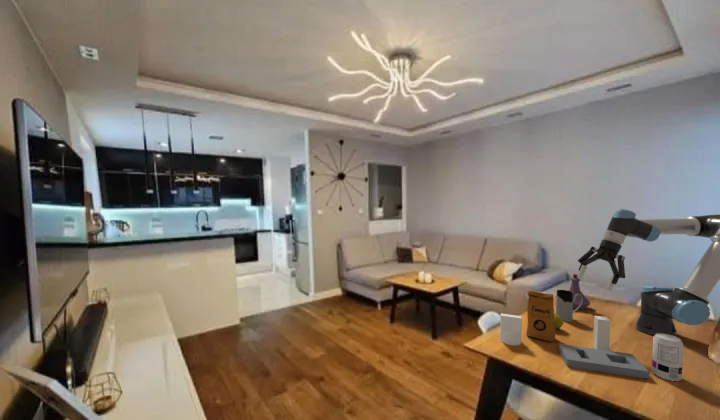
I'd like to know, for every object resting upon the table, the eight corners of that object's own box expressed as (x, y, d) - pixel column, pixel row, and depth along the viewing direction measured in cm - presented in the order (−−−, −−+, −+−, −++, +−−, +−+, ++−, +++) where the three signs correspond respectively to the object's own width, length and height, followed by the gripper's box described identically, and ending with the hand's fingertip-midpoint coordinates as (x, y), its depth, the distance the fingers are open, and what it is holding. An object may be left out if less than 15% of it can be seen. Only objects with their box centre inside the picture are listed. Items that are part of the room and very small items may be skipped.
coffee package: (553, 345, 145) (555, 297, 144) (524, 337, 153) (524, 292, 152) (557, 337, 153) (558, 292, 152) (529, 330, 161) (529, 287, 160)
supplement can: (645, 370, 123) (647, 333, 123) (665, 369, 124) (666, 332, 123) (667, 383, 115) (669, 342, 115) (688, 381, 116) (690, 341, 115)
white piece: (520, 338, 151) (521, 314, 151) (521, 347, 143) (522, 320, 143) (500, 335, 155) (500, 311, 155) (499, 343, 147) (500, 317, 146)
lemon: (566, 329, 161) (566, 314, 161) (559, 333, 157) (560, 317, 156) (543, 322, 170) (543, 308, 170) (536, 326, 165) (537, 311, 165)
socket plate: (631, 360, 131) (631, 353, 131) (648, 379, 118) (649, 371, 117) (558, 350, 140) (558, 343, 140) (567, 366, 127) (567, 359, 127)
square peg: (605, 347, 142) (606, 316, 142) (609, 352, 138) (610, 320, 137) (593, 345, 144) (594, 315, 143) (596, 350, 140) (597, 319, 139)
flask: (566, 311, 187) (567, 277, 186) (554, 301, 203) (554, 271, 202) (597, 312, 184) (598, 278, 184) (582, 303, 201) (583, 272, 200)
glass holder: (551, 315, 181) (552, 289, 180) (577, 315, 180) (577, 289, 179) (560, 321, 172) (561, 294, 171) (587, 321, 171) (588, 294, 171)
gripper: (581, 232, 156) (563, 271, 158) (637, 247, 133) (616, 293, 135) (590, 236, 159) (573, 275, 161) (647, 252, 136) (626, 297, 137)
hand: (593, 283), depth 148 cm, fingers open, 13 cm apart
